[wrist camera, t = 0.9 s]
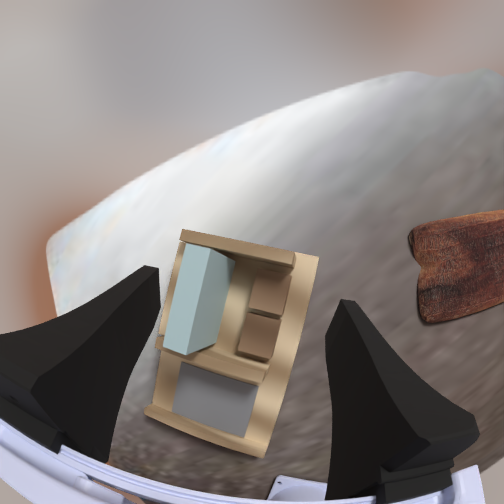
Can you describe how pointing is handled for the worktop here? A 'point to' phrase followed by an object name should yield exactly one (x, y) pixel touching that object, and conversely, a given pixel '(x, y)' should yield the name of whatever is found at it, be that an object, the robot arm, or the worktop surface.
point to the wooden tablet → (459, 265)
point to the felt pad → (214, 399)
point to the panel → (198, 300)
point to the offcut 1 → (270, 291)
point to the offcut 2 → (259, 335)
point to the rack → (238, 341)
